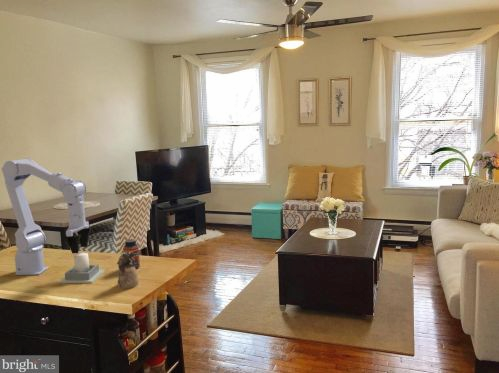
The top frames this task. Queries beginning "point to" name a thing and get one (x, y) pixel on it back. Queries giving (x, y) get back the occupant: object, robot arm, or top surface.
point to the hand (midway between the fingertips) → (79, 249)
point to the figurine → (127, 271)
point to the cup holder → (82, 275)
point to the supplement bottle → (134, 248)
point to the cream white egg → (81, 262)
